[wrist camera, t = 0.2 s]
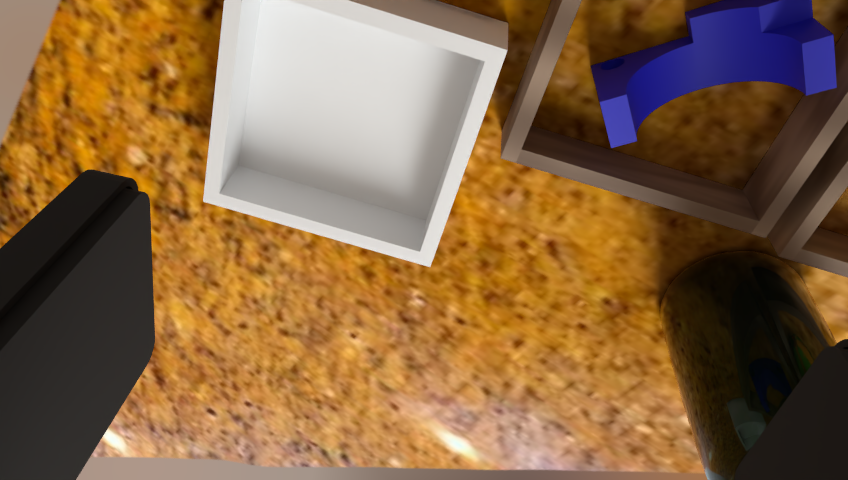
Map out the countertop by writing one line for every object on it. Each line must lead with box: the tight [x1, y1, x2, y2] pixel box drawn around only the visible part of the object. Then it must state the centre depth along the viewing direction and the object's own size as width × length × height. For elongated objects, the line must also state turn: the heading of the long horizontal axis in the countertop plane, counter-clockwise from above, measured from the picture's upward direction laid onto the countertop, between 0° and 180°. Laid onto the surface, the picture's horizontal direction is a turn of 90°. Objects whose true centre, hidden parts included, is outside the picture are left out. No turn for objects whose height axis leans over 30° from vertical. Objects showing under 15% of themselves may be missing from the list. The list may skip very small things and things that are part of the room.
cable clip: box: [591, 0, 837, 148], centre depth 40 cm, size 12×4×6 cm, turn 111°
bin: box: [203, 0, 508, 267], centre depth 45 cm, size 16×16×5 cm
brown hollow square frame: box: [501, 0, 848, 238], centre depth 41 cm, size 18×18×4 cm
